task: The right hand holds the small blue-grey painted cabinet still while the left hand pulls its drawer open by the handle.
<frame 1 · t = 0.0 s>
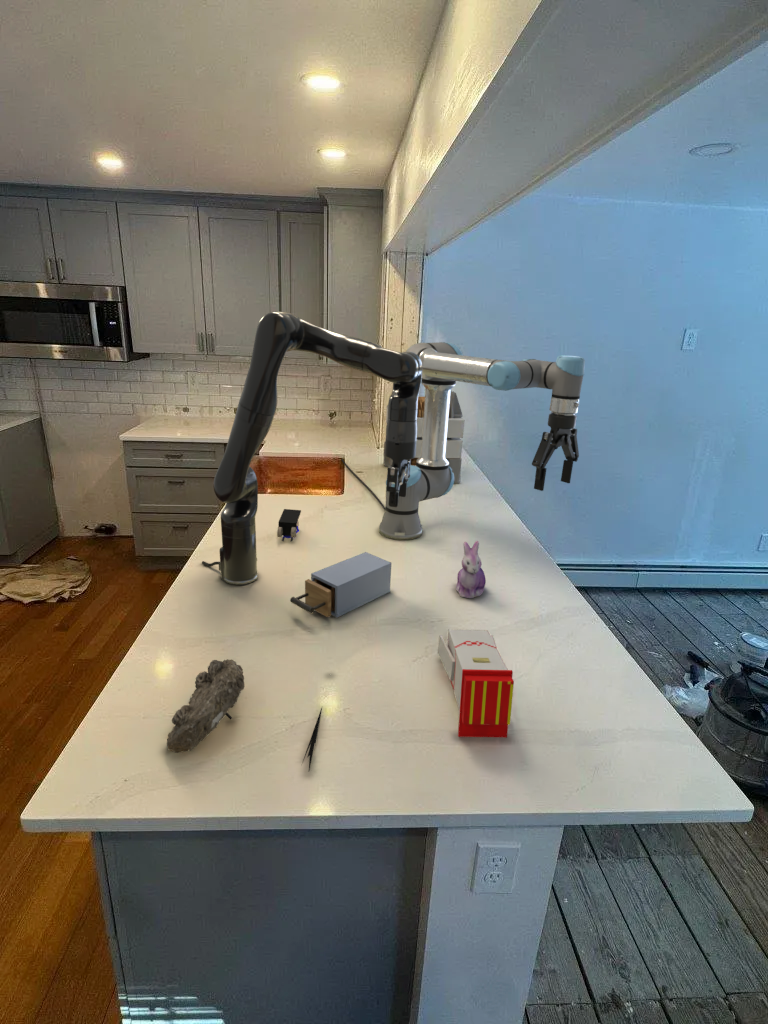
left hand: (397, 501, 142), 29 cm above the counter, tool pointing down, fingers open, 8 cm apart
right hand: (552, 485, 166), 28 cm above the counter, tool pointing down, fingers open, 13 cm apart
drawer: (336, 589, 149), point 4 cm above the counter, slide at 1.4 cm
toy: (469, 691, 119), on the counter
white slatted crate: (419, 473, 275), on the counter
cabinet: (351, 597, 155), on the counter
fossil: (212, 717, 108), on the counter
figurine character: (289, 536, 194), on the counter
figurine: (470, 591, 161), on the counter
feather: (319, 719, 109), on the counter
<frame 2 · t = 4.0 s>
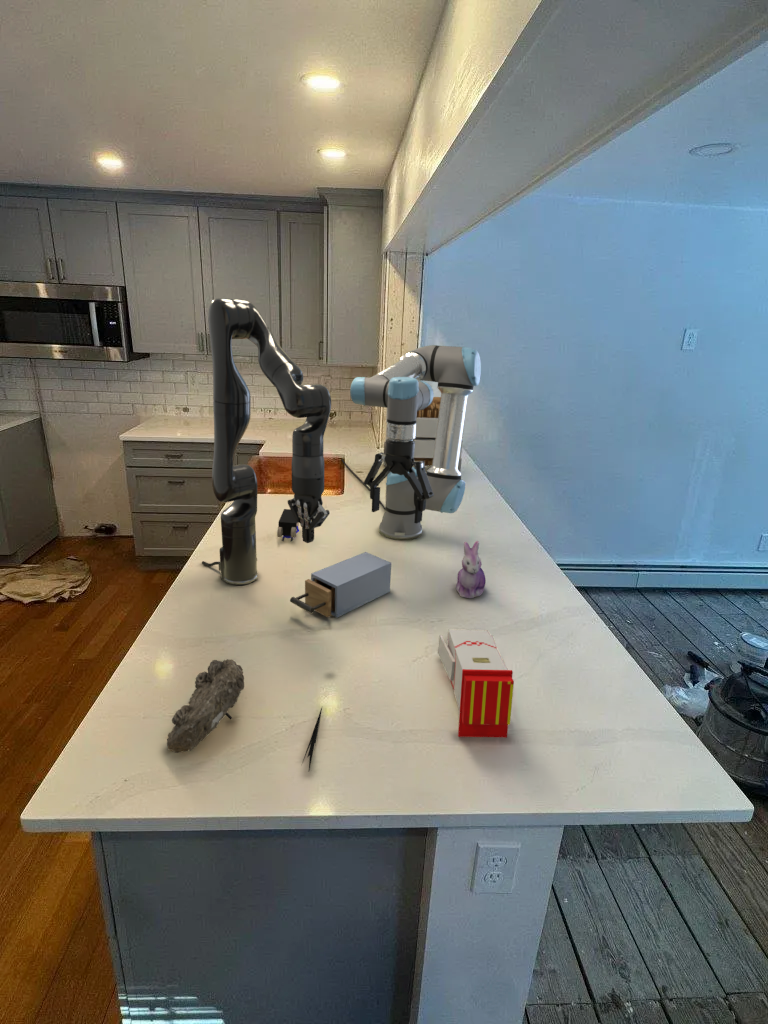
left hand: (308, 541, 137), 21 cm above the counter, tool pointing down, fingers closed
right hand: (396, 516, 153), 22 cm above the counter, tool pointing down, fingers open, 13 cm apart
nothing on the counter moved.
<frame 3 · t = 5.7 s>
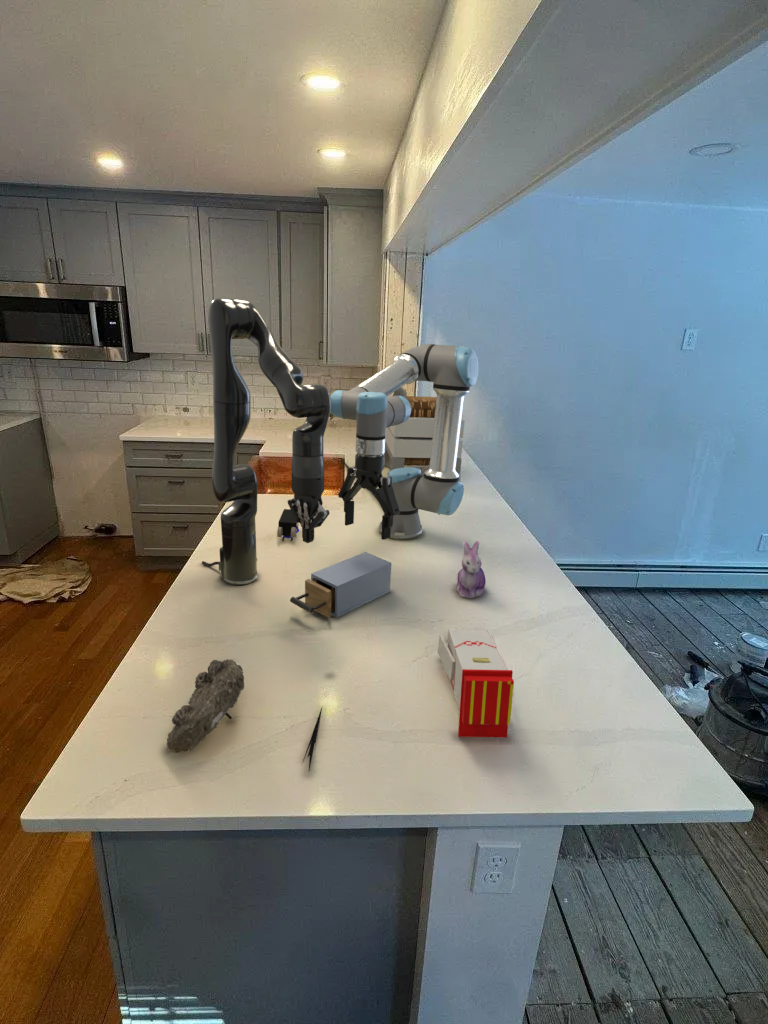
left hand: (308, 541, 137), 21 cm above the counter, tool pointing down, fingers closed
right hand: (366, 531, 152), 18 cm above the counter, tool pointing down, fingers open, 13 cm apart
nothing on the counter moved.
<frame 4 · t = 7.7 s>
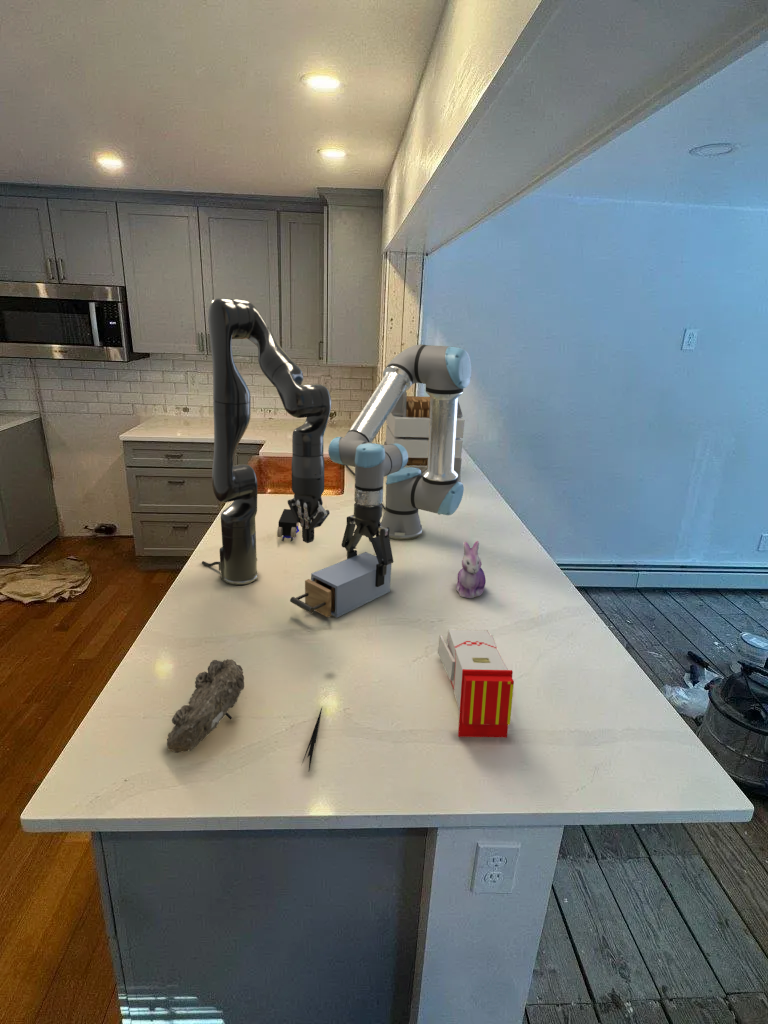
left hand: (308, 541, 137), 21 cm above the counter, tool pointing down, fingers closed
right hand: (365, 578, 157), 4 cm above the counter, tool pointing down, fingers closed on cabinet, 10 cm apart
cabinet: (351, 597, 155), on the counter, touching right hand
everything else where it was.
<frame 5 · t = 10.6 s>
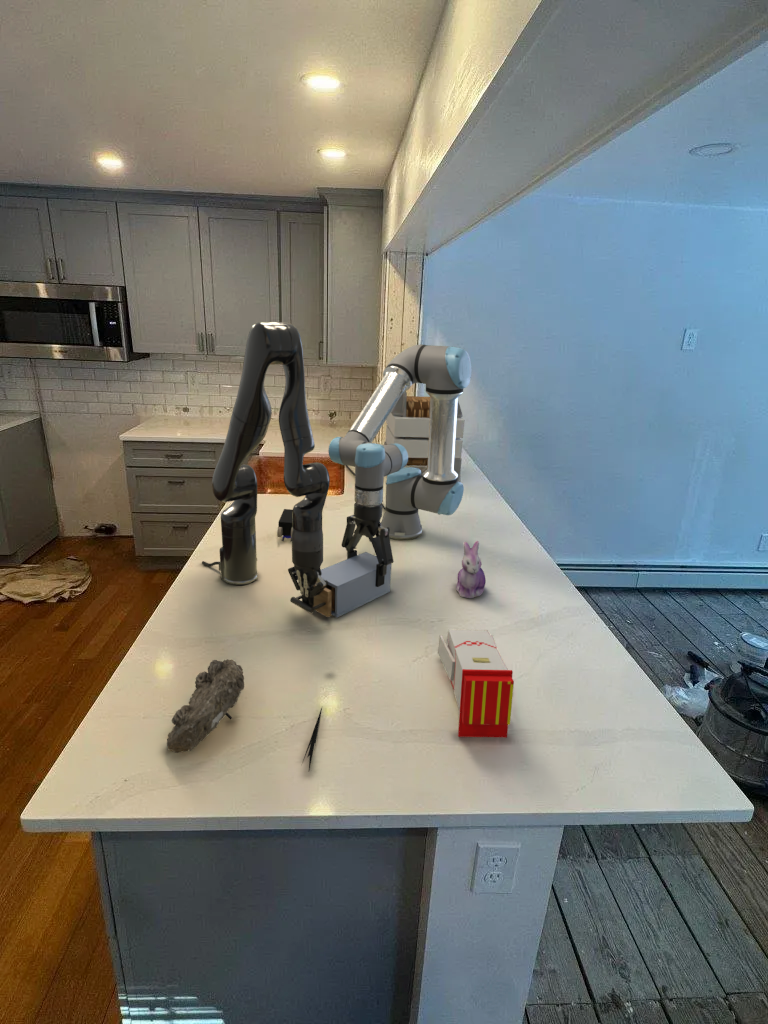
left hand: (307, 607, 143), 3 cm above the counter, tool pointing down, fingers closed
right hand: (365, 578, 157), 4 cm above the counter, tool pointing down, fingers closed on cabinet, 10 cm apart
drawer: (336, 589, 149), point 4 cm above the counter, slide at 1.4 cm, touching left hand
cabinet: (351, 597, 155), on the counter, touching right hand
everything else where it was.
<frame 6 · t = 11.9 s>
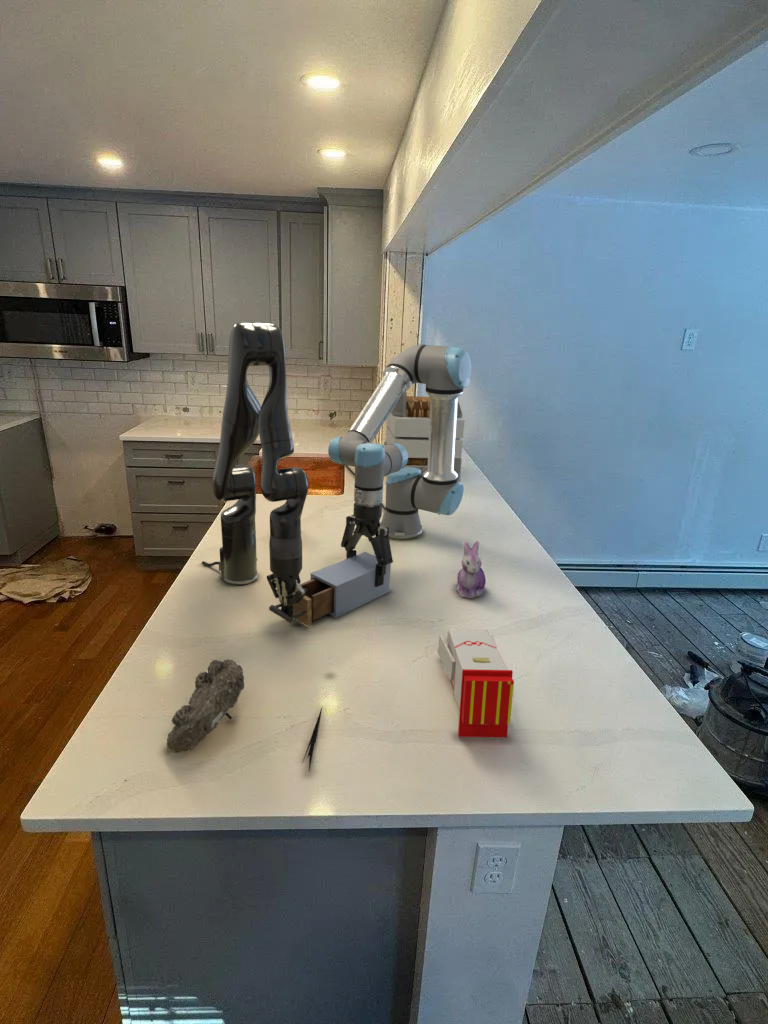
left hand: (287, 616, 138), 3 cm above the counter, tool pointing down, fingers closed
right hand: (365, 578, 157), 4 cm above the counter, tool pointing down, fingers closed on cabinet, 10 cm apart
drawer: (317, 597, 145), point 5 cm above the counter, slide at 7.7 cm, touching left hand
cabinet: (350, 597, 155), on the counter, touching right hand
everything else where it was.
when the right hand's fingers open (4 cm above the counter, at t = 13.6 s): cabinet stays where it is, on the counter.
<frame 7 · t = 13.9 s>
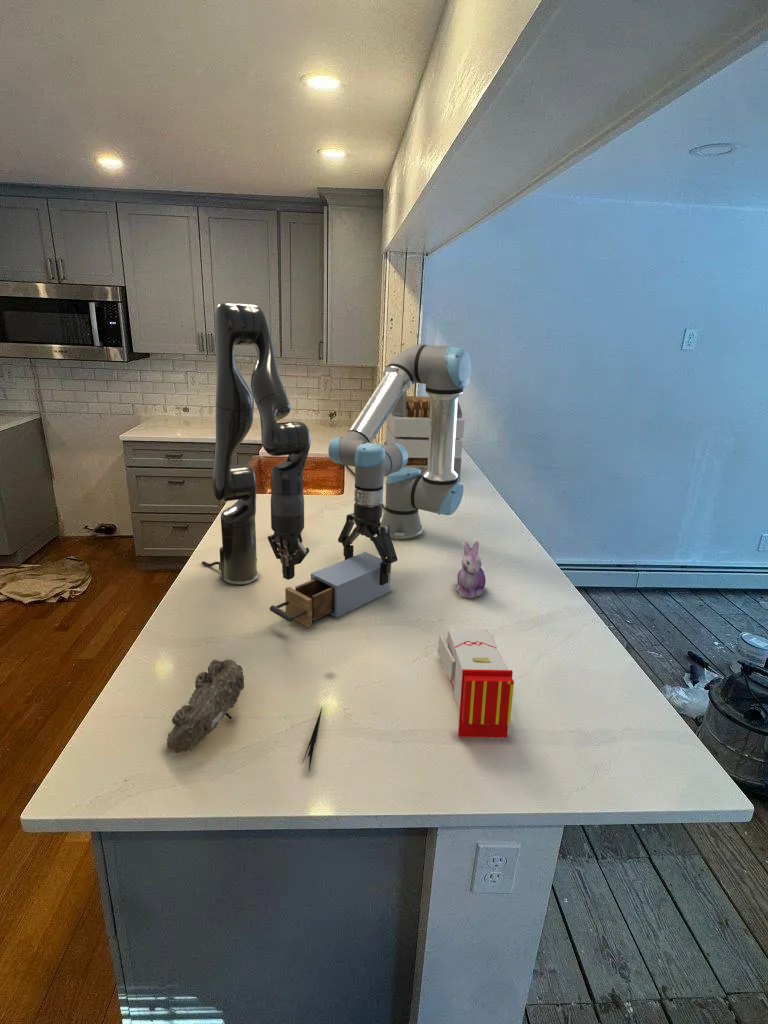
left hand: (288, 578, 135), 13 cm above the counter, tool pointing down, fingers closed
right hand: (365, 575, 157), 5 cm above the counter, tool pointing down, fingers open, 13 cm apart
drawer: (317, 597, 145), point 4 cm above the counter, slide at 7.7 cm
cabinet: (351, 597, 155), on the counter
everything else where it was.
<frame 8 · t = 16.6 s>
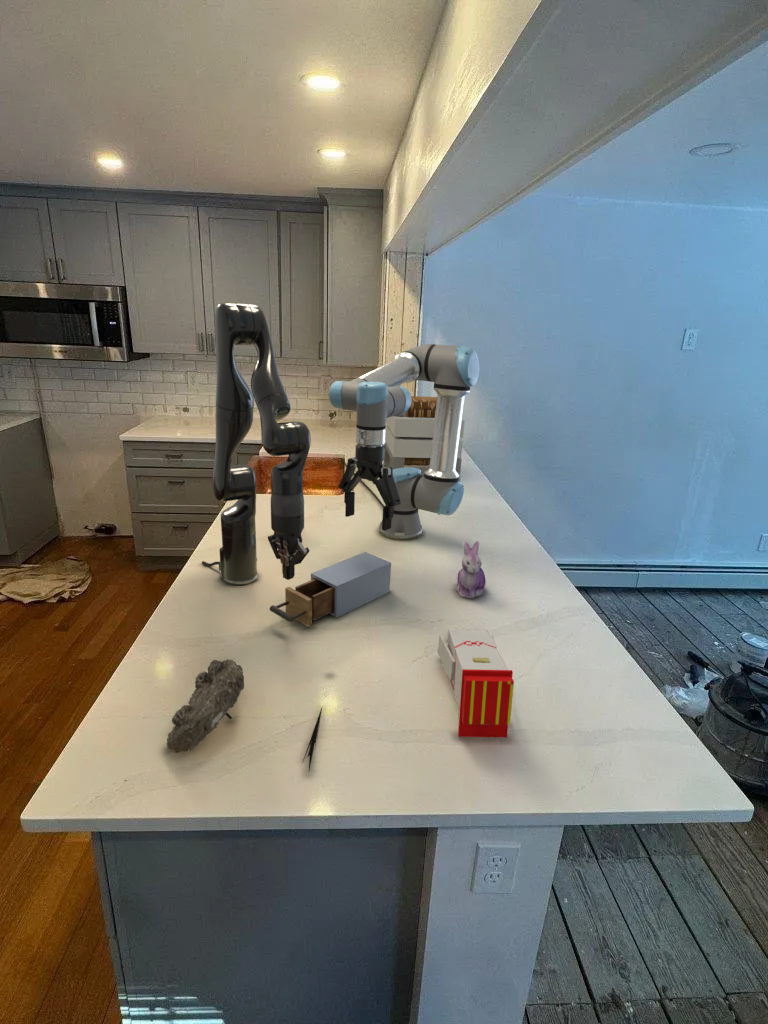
left hand: (288, 578, 135), 13 cm above the counter, tool pointing down, fingers closed
right hand: (367, 522, 152), 21 cm above the counter, tool pointing down, fingers open, 13 cm apart
nothing on the counter moved.
at the end: drawer slide at 7.7 cm; cabinet tilted 0°; cabinet never tilted more than 1° during the clip; cabinet moved 0.1 cm from its start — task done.
